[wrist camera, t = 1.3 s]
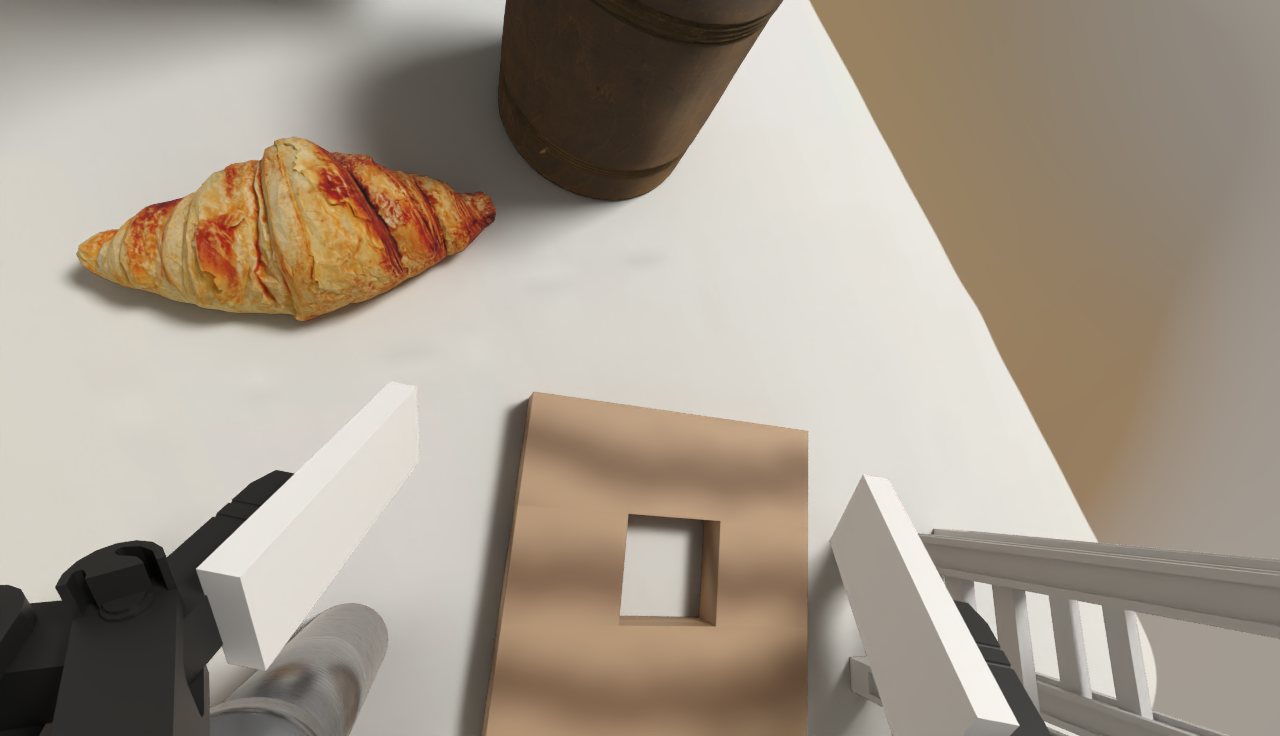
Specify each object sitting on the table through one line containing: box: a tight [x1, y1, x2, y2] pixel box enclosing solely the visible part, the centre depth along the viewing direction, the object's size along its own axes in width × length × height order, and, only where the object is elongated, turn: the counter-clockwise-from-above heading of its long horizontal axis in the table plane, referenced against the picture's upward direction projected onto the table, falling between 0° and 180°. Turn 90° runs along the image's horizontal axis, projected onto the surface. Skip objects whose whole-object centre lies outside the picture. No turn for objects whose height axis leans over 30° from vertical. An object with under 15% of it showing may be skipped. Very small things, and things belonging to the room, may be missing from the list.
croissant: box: [76, 137, 496, 321], centre depth 30 cm, size 21×10×8 cm, turn 109°
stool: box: [850, 529, 1280, 736], centre depth 24 cm, size 16×16×35 cm
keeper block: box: [481, 392, 808, 736], centre depth 33 cm, size 20×20×2 cm
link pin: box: [210, 603, 388, 736], centre depth 21 cm, size 5×5×16 cm
